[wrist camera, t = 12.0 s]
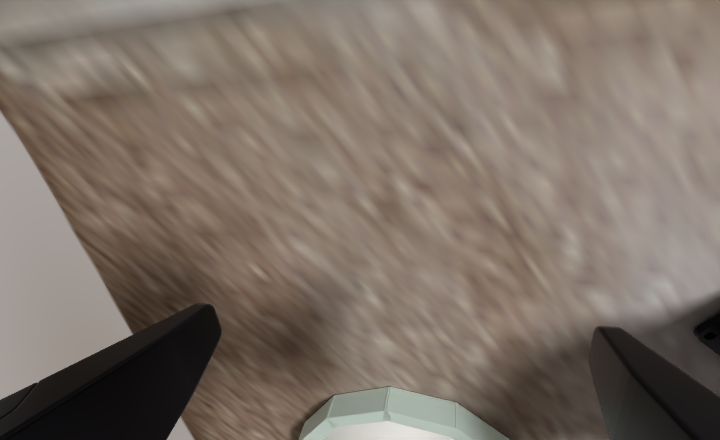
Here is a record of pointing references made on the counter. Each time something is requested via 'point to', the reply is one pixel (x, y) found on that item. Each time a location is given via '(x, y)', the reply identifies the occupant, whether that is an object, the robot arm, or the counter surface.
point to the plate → (395, 418)
